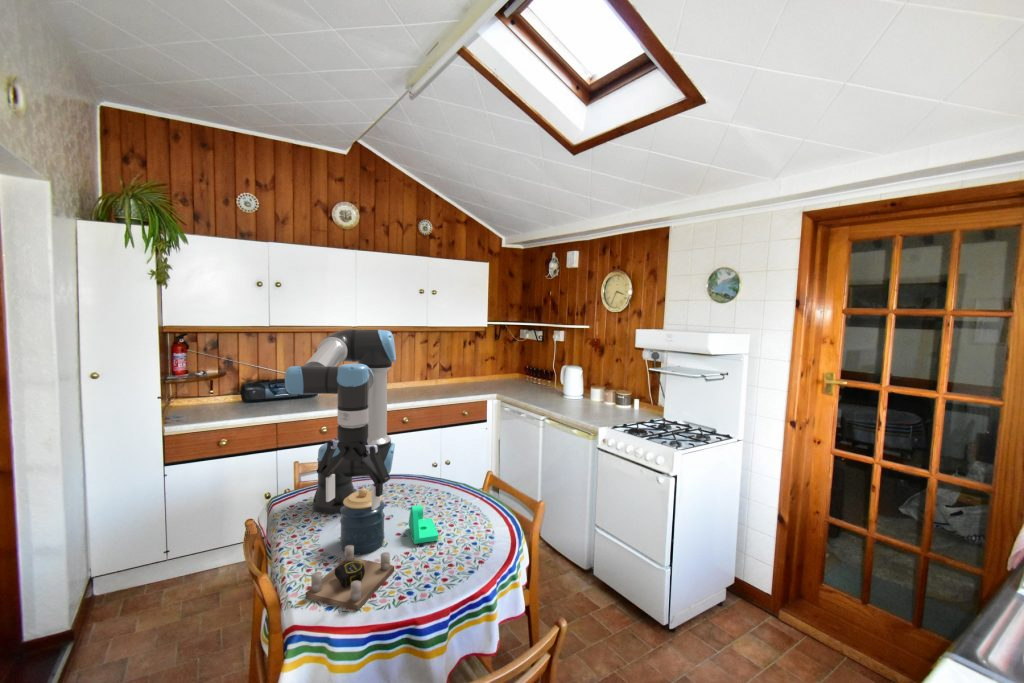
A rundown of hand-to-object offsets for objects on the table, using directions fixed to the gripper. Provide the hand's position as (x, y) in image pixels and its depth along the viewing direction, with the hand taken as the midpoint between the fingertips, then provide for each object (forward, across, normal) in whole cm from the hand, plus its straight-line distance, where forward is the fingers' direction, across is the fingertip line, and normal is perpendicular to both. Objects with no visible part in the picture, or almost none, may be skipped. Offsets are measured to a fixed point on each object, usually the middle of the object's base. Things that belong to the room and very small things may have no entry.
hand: (352, 503), depth 115 cm
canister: (+22, -9, +18) cm, 30 cm away
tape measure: (+20, 0, -2) cm, 21 cm away
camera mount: (+23, +6, +28) cm, 37 cm away
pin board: (+22, 0, 0) cm, 22 cm away
